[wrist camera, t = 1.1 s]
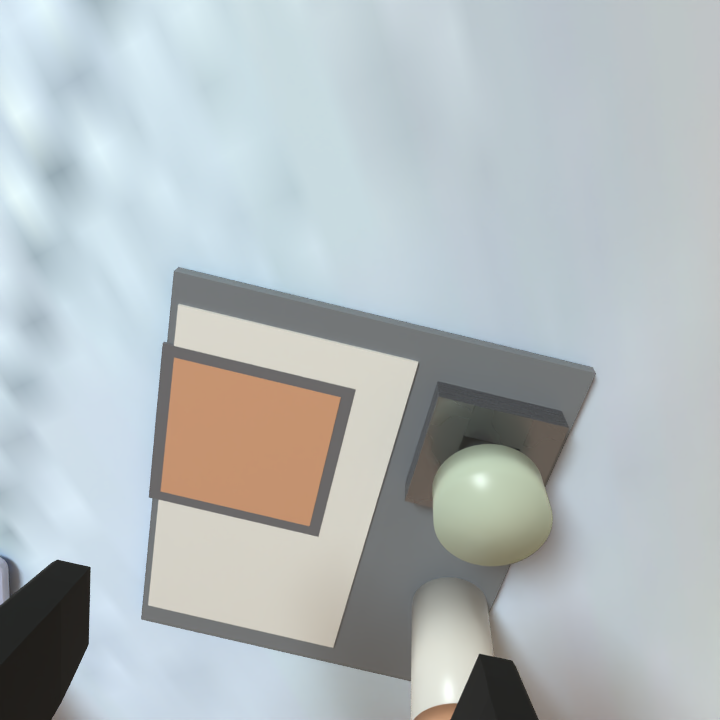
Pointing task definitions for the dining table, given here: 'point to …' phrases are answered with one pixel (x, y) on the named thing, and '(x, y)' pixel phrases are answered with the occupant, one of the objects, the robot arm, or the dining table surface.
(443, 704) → the marker
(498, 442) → the button housing
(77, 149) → the dining table surface
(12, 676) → the robot arm
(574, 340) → the dining table surface
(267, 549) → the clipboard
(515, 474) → the button
